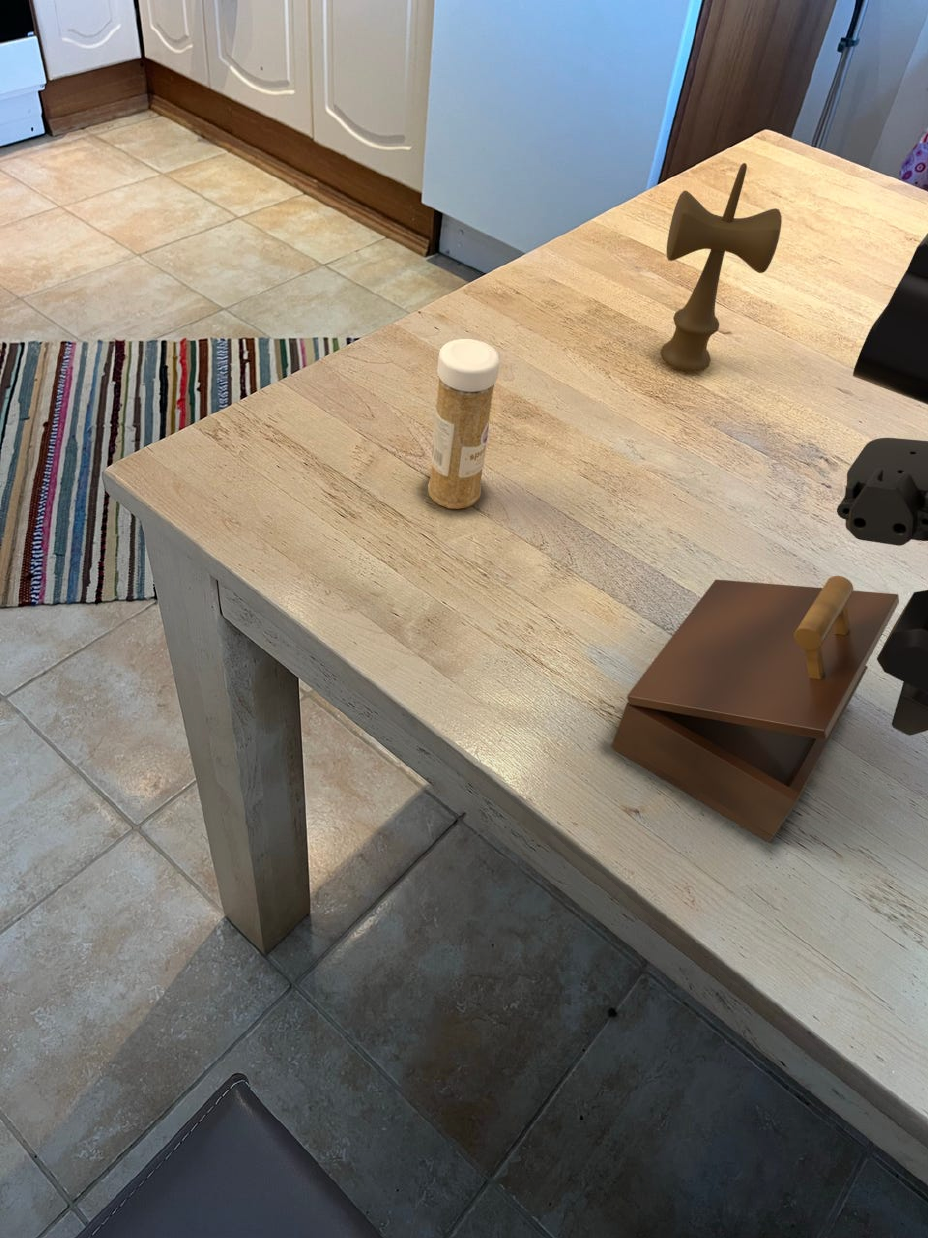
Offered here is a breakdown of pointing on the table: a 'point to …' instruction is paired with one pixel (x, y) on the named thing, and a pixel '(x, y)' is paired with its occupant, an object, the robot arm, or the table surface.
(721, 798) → the keepsake box
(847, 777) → the table surface
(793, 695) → the lid
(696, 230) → the kendama
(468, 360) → the spice jar
